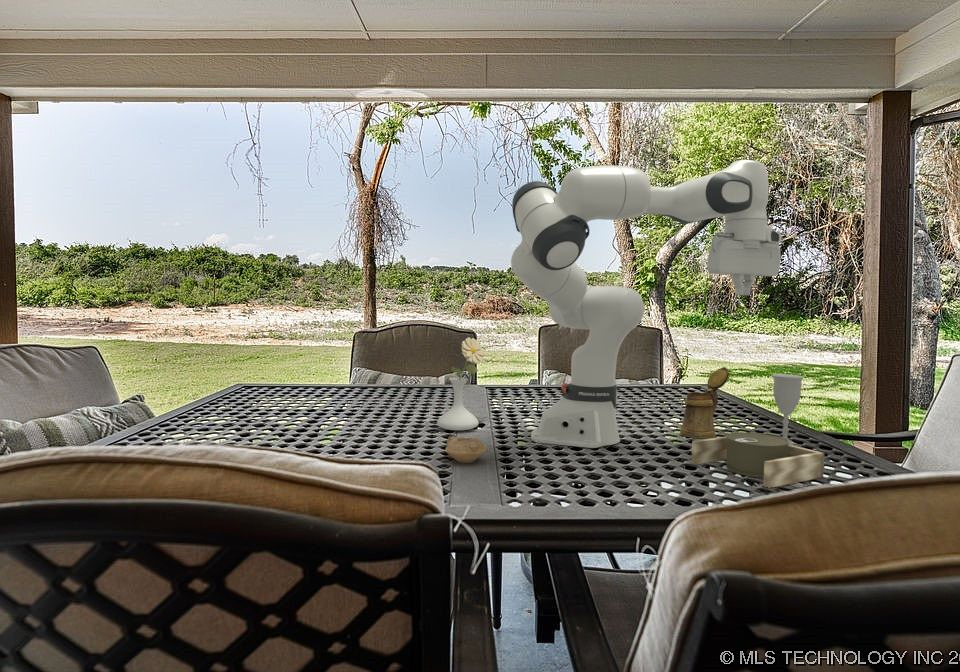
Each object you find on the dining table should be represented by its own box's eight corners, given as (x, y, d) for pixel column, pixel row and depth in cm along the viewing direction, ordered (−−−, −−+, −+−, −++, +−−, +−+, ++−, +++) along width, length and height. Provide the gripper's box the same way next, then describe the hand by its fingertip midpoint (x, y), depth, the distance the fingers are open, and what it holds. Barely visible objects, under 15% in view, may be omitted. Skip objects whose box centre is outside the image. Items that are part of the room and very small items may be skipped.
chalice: (804, 454, 142) (808, 378, 140) (773, 452, 143) (776, 377, 142) (794, 447, 149) (798, 374, 148) (765, 445, 150) (768, 373, 149)
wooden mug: (736, 436, 160) (739, 368, 159) (697, 440, 154) (699, 370, 153) (711, 429, 168) (713, 365, 167) (672, 433, 163) (675, 366, 161)
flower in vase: (445, 435, 156) (446, 339, 155) (431, 426, 167) (431, 336, 165) (491, 431, 161) (492, 338, 160) (474, 423, 172) (475, 335, 170)
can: (800, 475, 125) (802, 442, 124) (756, 481, 120) (757, 447, 120) (755, 460, 136) (756, 430, 135) (712, 465, 131) (714, 434, 131)
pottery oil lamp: (466, 448, 141) (480, 423, 139) (479, 479, 131) (494, 453, 129) (433, 438, 138) (447, 413, 136) (444, 469, 127) (459, 442, 125)
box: (767, 488, 115) (769, 462, 115) (691, 463, 132) (692, 441, 132) (823, 477, 123) (824, 453, 123) (744, 455, 140) (745, 433, 140)
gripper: (724, 230, 129) (722, 294, 130) (786, 235, 139) (784, 295, 140) (701, 232, 135) (699, 294, 136) (762, 238, 144) (760, 295, 145)
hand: (742, 295), depth 138 cm, fingers closed
